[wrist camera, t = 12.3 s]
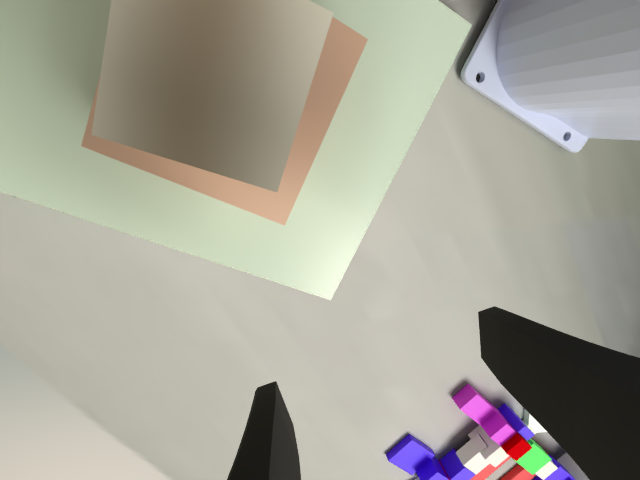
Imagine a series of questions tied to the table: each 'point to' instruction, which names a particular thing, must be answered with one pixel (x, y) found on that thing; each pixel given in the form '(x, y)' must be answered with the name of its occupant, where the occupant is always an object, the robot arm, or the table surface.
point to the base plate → (194, 207)
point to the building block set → (487, 448)
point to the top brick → (210, 81)
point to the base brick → (314, 123)
